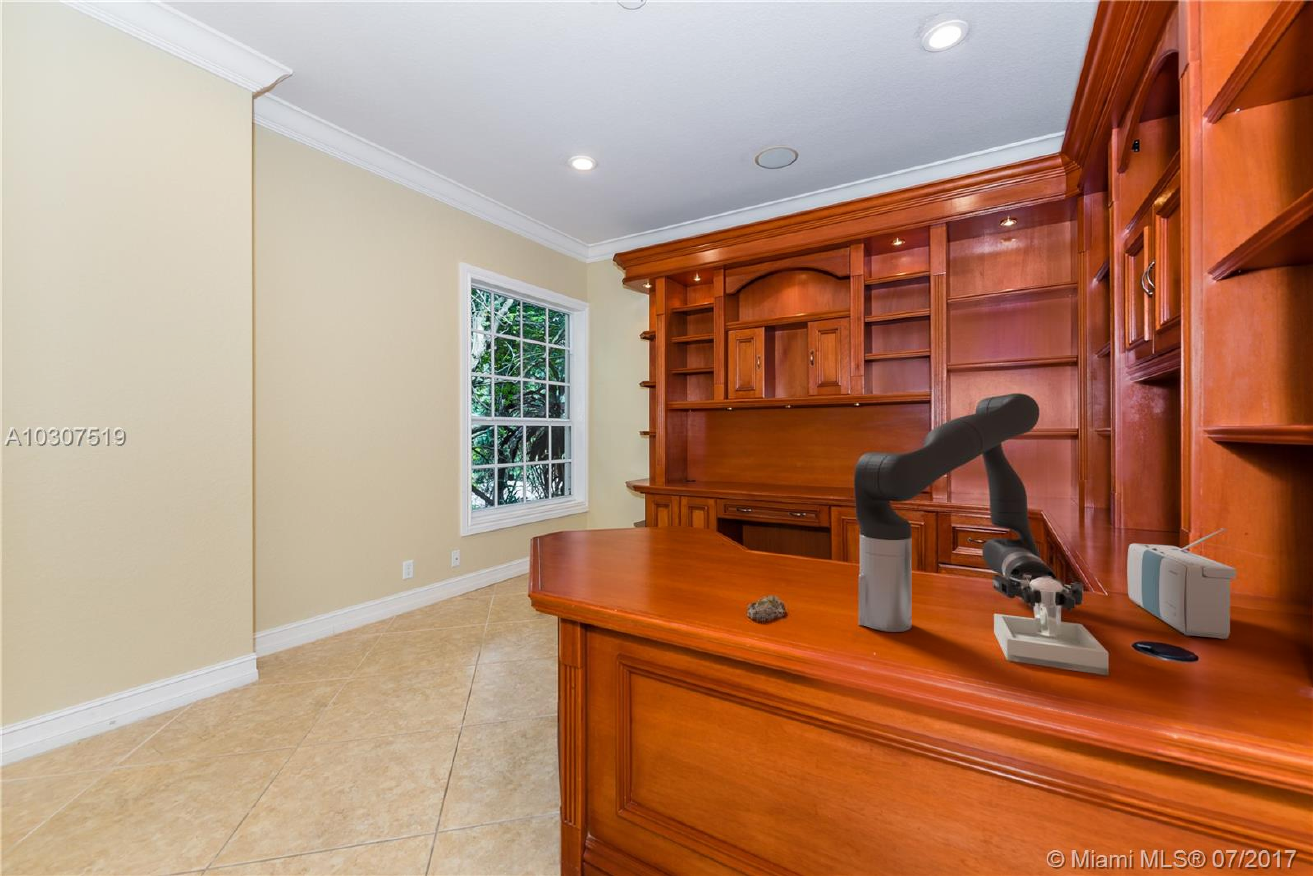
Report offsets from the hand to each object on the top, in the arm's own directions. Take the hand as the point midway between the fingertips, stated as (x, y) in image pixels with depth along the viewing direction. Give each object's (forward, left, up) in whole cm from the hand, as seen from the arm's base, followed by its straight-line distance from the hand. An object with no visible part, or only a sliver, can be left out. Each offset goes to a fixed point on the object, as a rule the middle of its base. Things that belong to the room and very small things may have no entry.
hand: (1050, 602), depth 86 cm
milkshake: (0, +3, -6) cm, 7 cm away
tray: (0, +3, -9) cm, 10 cm away
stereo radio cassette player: (+27, +31, -9) cm, 42 cm away
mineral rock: (-48, +2, -10) cm, 49 cm away
